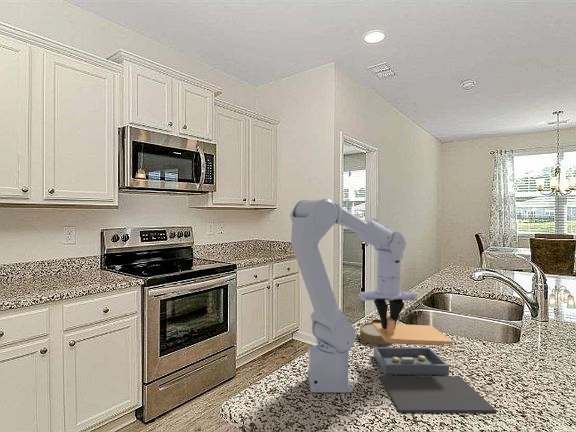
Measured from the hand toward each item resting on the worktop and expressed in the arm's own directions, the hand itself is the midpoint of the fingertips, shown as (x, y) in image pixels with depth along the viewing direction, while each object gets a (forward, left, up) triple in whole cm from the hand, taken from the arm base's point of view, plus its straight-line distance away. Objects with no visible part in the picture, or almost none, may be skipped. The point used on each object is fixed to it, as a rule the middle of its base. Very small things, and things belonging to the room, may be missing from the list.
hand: (388, 327), depth 88 cm
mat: (+6, -13, -10) cm, 18 cm away
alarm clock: (+4, +21, -11) cm, 24 cm away
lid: (+6, 0, -2) cm, 6 cm away
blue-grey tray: (+6, +1, -10) cm, 12 cm away
